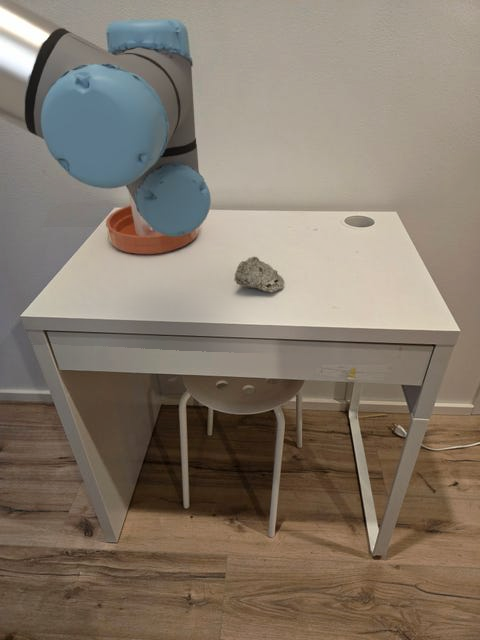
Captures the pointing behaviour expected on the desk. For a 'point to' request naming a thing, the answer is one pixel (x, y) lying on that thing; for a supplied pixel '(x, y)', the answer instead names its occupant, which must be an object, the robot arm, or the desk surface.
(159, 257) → the desk surface
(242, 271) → the rock sample
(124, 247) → the bowl
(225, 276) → the desk surface
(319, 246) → the desk surface
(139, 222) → the mug
